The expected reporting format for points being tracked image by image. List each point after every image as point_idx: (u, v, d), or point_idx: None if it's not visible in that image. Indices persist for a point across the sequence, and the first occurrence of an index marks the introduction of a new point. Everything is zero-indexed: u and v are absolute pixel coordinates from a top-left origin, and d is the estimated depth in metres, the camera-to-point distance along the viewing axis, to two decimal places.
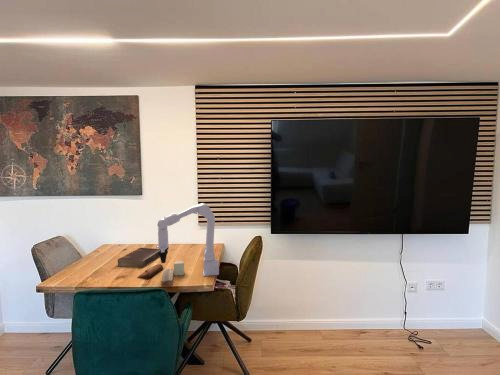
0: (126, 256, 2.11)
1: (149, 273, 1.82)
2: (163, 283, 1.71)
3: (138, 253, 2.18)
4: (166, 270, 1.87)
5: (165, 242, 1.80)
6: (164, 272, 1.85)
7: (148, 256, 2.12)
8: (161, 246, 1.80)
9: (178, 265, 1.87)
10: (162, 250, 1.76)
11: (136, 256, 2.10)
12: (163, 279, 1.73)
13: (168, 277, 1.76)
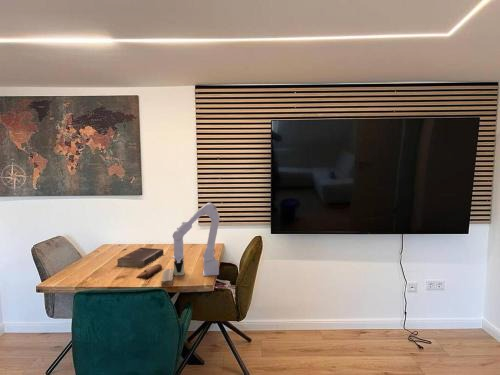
0: (126, 256, 2.11)
1: (148, 273, 1.83)
2: (163, 283, 1.71)
3: (138, 253, 2.18)
4: (166, 270, 1.87)
5: (180, 253, 1.86)
6: (164, 272, 1.85)
7: (148, 256, 2.12)
8: (177, 256, 1.86)
9: None
10: (178, 261, 1.82)
11: (136, 256, 2.10)
12: (163, 279, 1.73)
13: (168, 277, 1.76)
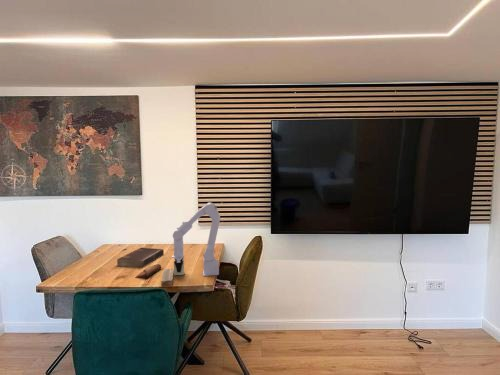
0: (126, 256, 2.11)
1: (147, 273, 1.83)
2: (163, 283, 1.71)
3: (138, 253, 2.18)
4: (166, 270, 1.87)
5: (180, 252, 1.86)
6: (164, 272, 1.85)
7: (148, 256, 2.12)
8: (177, 256, 1.85)
9: None
10: (178, 260, 1.81)
11: (136, 256, 2.10)
12: (163, 279, 1.73)
13: (168, 277, 1.76)
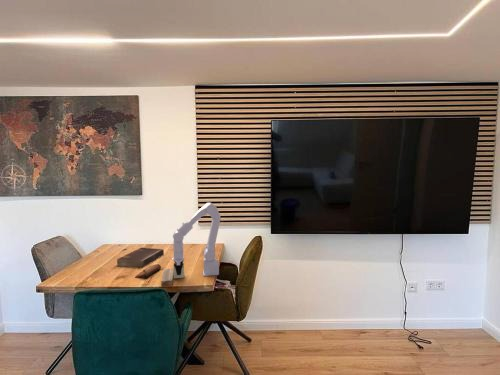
0: (126, 256, 2.11)
1: (146, 273, 1.83)
2: (163, 283, 1.71)
3: (138, 253, 2.18)
4: (166, 270, 1.87)
5: (180, 255, 1.81)
6: (164, 272, 1.85)
7: (147, 256, 2.12)
8: (176, 259, 1.81)
9: None
10: (178, 263, 1.76)
11: (136, 256, 2.10)
12: (163, 279, 1.73)
13: (168, 277, 1.76)
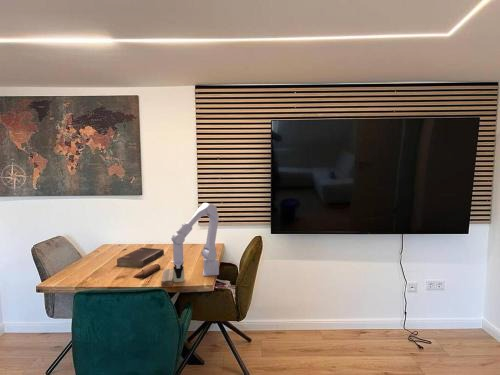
0: (126, 256, 2.11)
1: (145, 273, 1.83)
2: (163, 283, 1.71)
3: (138, 253, 2.18)
4: (166, 270, 1.87)
5: (180, 257, 1.76)
6: (164, 272, 1.85)
7: (147, 256, 2.12)
8: (176, 262, 1.75)
9: None
10: (178, 266, 1.71)
11: (135, 256, 2.10)
12: (163, 279, 1.73)
13: (168, 277, 1.76)
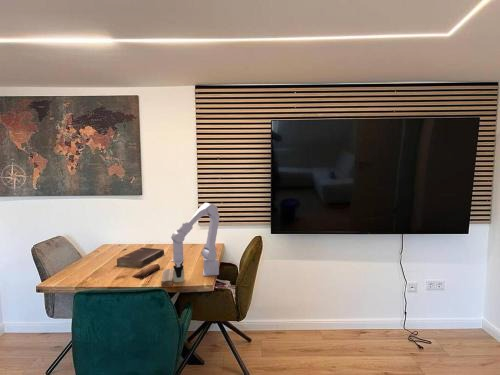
0: (126, 256, 2.11)
1: (143, 272, 1.83)
2: (163, 283, 1.71)
3: (139, 253, 2.18)
4: (166, 270, 1.87)
5: (180, 256, 1.76)
6: (164, 272, 1.85)
7: (147, 256, 2.12)
8: (176, 260, 1.75)
9: None
10: (178, 265, 1.71)
11: (135, 256, 2.10)
12: (163, 279, 1.73)
13: (168, 277, 1.76)
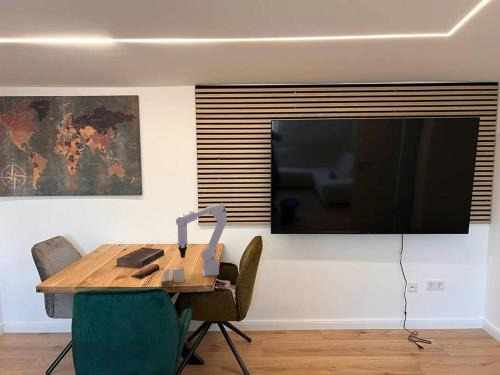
0: (126, 256, 2.11)
1: (142, 272, 1.84)
2: (163, 283, 1.71)
3: (139, 253, 2.18)
4: (166, 270, 1.87)
5: (184, 238, 1.90)
6: (164, 272, 1.85)
7: (147, 256, 2.12)
8: (181, 242, 1.90)
9: (178, 271, 1.76)
10: (182, 245, 1.85)
11: (135, 256, 2.10)
12: (163, 279, 1.73)
13: (168, 277, 1.76)
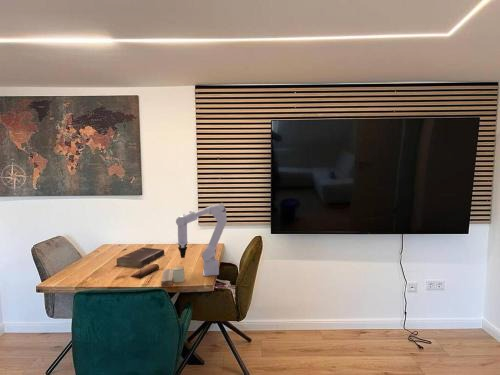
0: (126, 256, 2.11)
1: (142, 272, 1.84)
2: (163, 283, 1.71)
3: (139, 253, 2.18)
4: (166, 270, 1.87)
5: (184, 238, 1.90)
6: (164, 272, 1.85)
7: (147, 256, 2.12)
8: (181, 242, 1.90)
9: (178, 271, 1.76)
10: (182, 245, 1.85)
11: (135, 256, 2.10)
12: (163, 279, 1.73)
13: (168, 277, 1.76)
